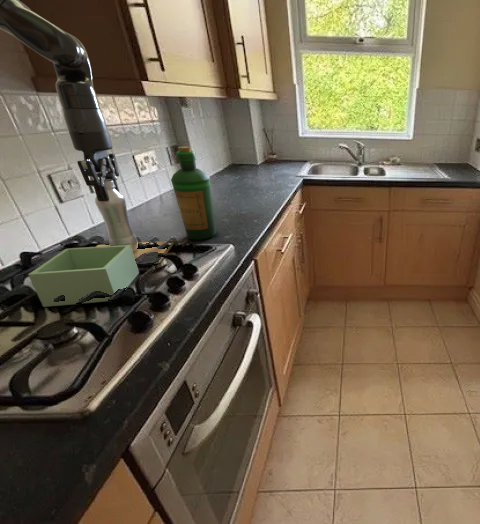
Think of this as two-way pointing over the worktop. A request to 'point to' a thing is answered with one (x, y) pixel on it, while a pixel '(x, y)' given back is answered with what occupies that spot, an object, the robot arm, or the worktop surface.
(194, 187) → the bottle
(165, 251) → the board
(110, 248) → the bin
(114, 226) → the plastic bottle
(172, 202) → the worktop surface
